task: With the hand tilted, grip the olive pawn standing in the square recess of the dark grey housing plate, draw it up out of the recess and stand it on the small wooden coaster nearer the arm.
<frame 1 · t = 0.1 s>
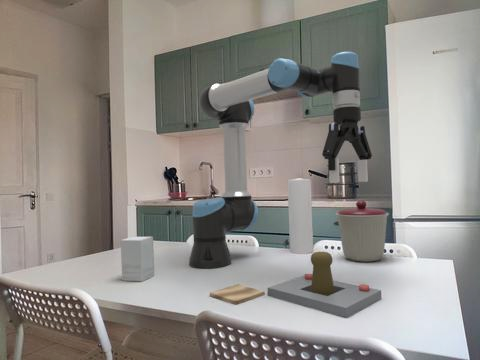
hand: (349, 182, 100), 28 cm above the table, tool pointing down, fingers open, 13 cm apart
canister: (363, 259, 126), on the table
supplement box: (138, 278, 110), on the table
cylinder container: (301, 251, 144), on the table
housing plate: (322, 296, 86), on the table
olive pawn: (322, 297, 86), resting in housing plate
coaster: (237, 295, 89), on the table
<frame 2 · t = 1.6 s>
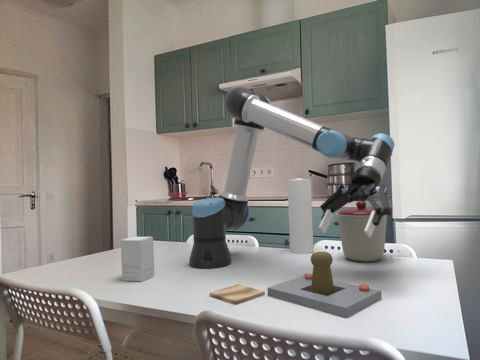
hand: (343, 232, 93), 15 cm above the table, tool tilted 45°, fingers open, 13 cm apart
nothing on the table moved.
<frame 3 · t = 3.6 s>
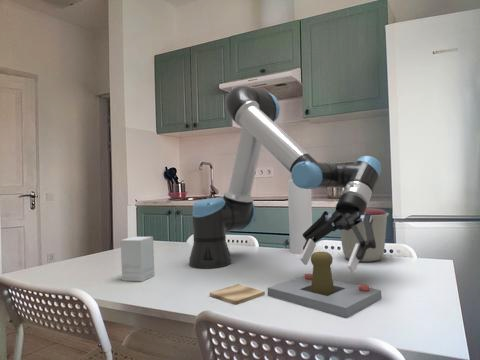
hand: (325, 265, 87), 7 cm above the table, tool tilted 45°, fingers open, 13 cm apart
nothing on the table moved.
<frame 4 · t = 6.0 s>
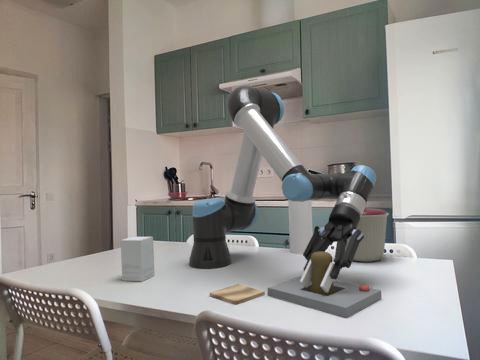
hand: (313, 286, 83), 3 cm above the table, tool tilted 45°, fingers closed on olive pawn, 5 cm apart
olive pawn: (322, 297, 86), resting in housing plate, touching gripper
everything else where it was.
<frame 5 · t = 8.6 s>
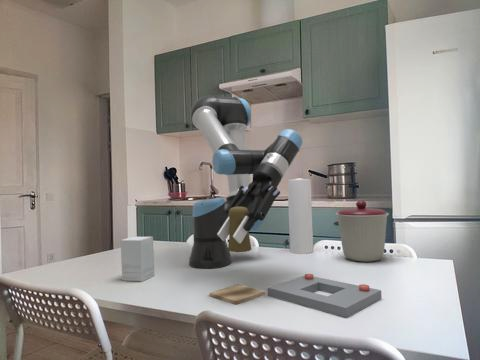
hand: (228, 238, 87), 15 cm above the table, tool tilted 45°, fingers closed on olive pawn, 5 cm apart
olive pawn: (239, 250, 90), point 11 cm above the table, touching gripper
everything else where it was.
when the fingers open (6 cm above the table, at t = 11.3 s): olive pawn drops 1 cm, resting on coaster.
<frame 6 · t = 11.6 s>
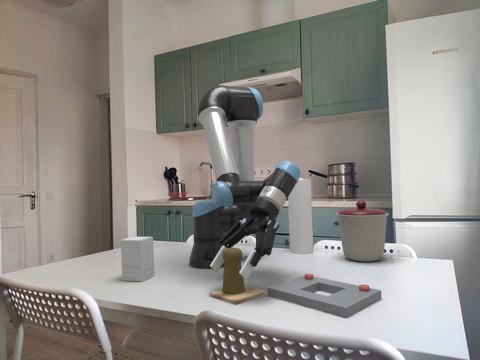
hand: (227, 272, 87), 6 cm above the table, tool tilted 45°, fingers open, 10 cm apart
olive pawn: (233, 291, 90), point 1 cm above the table, touching coaster
everything else where it was.
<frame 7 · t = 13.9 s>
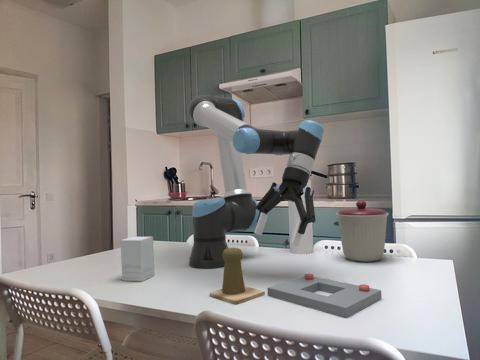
hand: (275, 239, 99), 12 cm above the table, tool tilted 25°, fingers open, 13 cm apart
nothing on the table moved.
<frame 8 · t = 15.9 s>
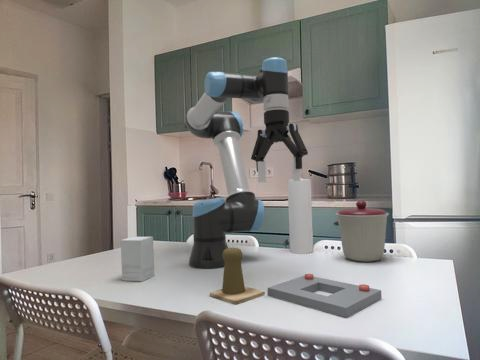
hand: (278, 181, 105), 29 cm above the table, tool pointing down, fingers open, 13 cm apart
nothing on the table moved.
at the end: olive pawn inside the target area on the coaster (1.4 cm from its centre), point 0.6 cm above the coaster's base; olive pawn tilted 0°; the gripper is holding nothing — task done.
